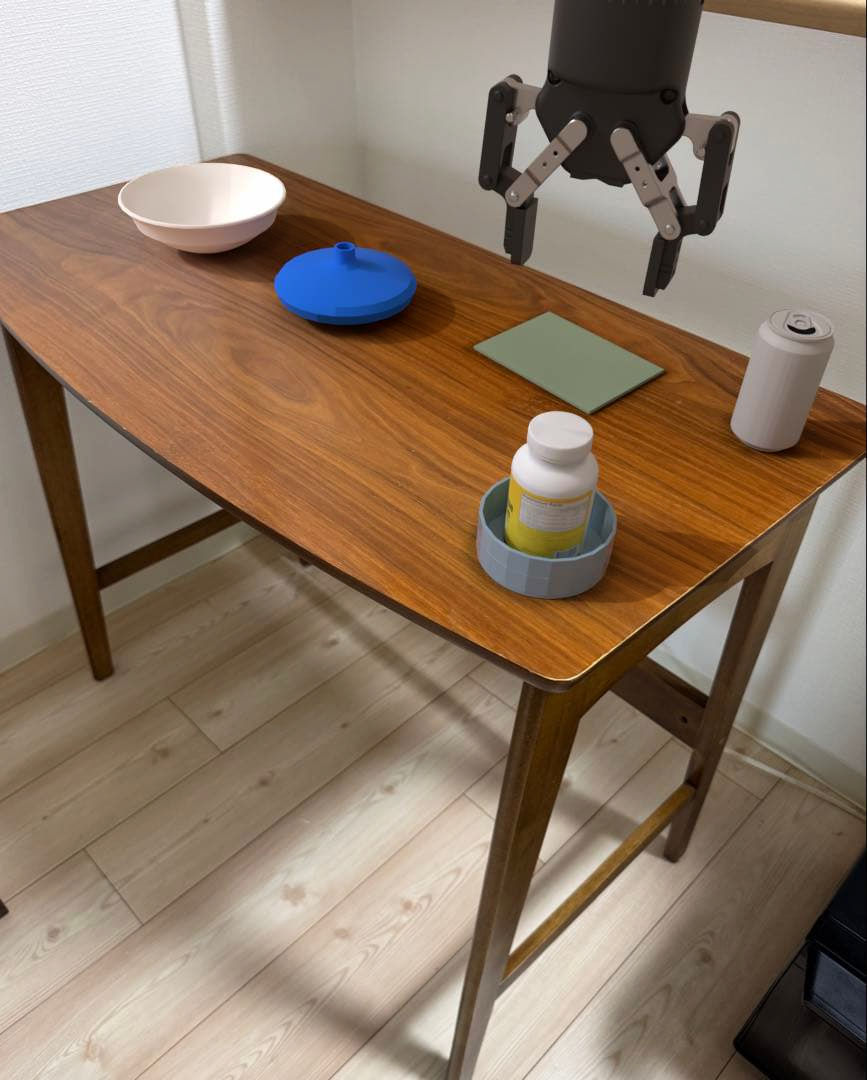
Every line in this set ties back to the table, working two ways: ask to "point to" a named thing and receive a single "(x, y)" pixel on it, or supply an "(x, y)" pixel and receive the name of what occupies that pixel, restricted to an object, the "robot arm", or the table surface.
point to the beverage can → (782, 378)
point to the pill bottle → (552, 488)
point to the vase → (345, 285)
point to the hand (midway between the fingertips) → (585, 275)
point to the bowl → (203, 205)
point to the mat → (569, 361)
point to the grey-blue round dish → (540, 572)
